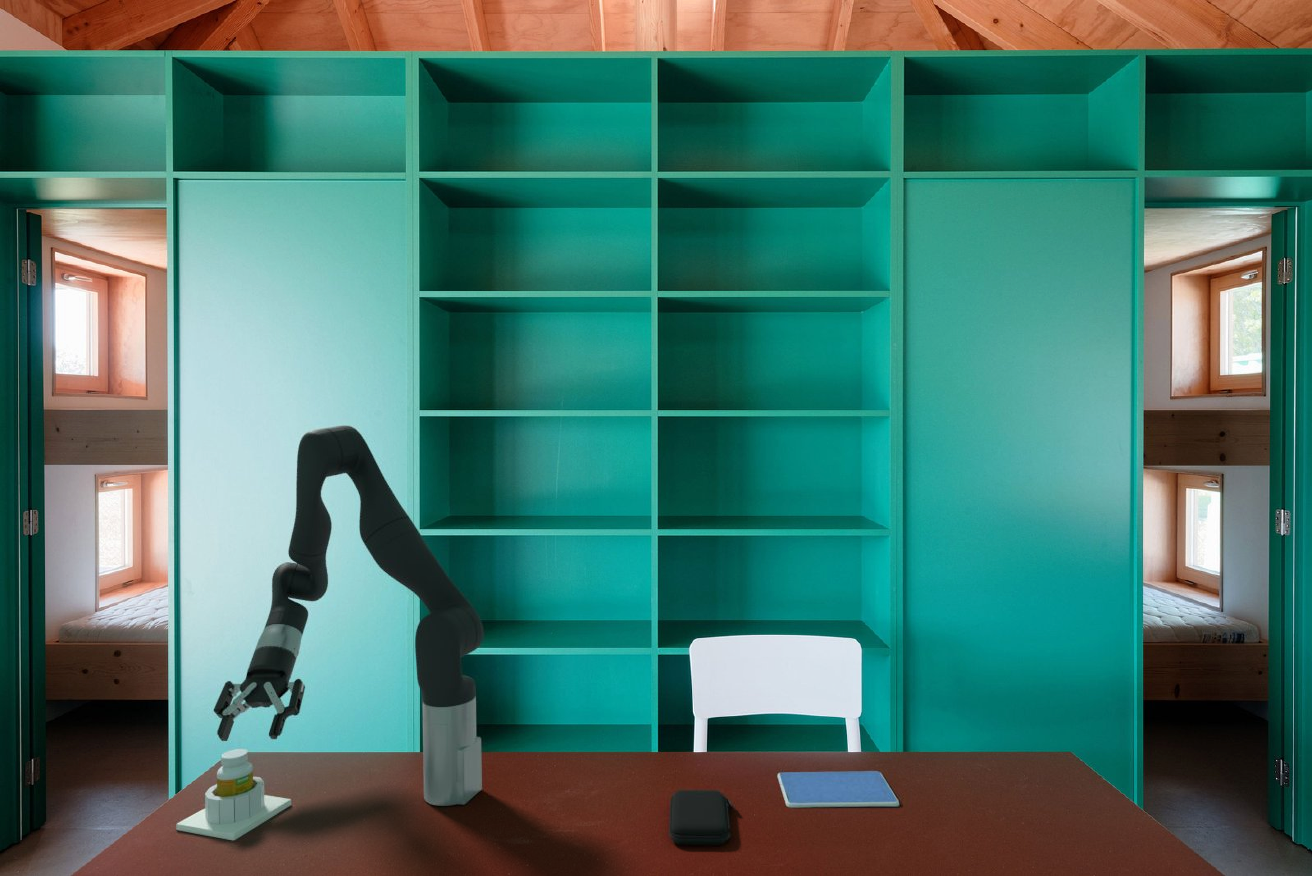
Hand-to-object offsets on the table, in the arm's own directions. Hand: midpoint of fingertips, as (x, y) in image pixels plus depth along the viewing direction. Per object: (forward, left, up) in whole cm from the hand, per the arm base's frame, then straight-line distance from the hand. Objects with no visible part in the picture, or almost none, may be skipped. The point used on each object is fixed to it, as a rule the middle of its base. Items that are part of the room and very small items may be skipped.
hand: (247, 738), depth 132 cm
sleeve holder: (-1, +4, -12) cm, 12 cm away
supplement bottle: (-1, +4, -11) cm, 12 cm away
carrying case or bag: (-78, -15, -12) cm, 81 cm away
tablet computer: (-98, -33, -12) cm, 105 cm away
